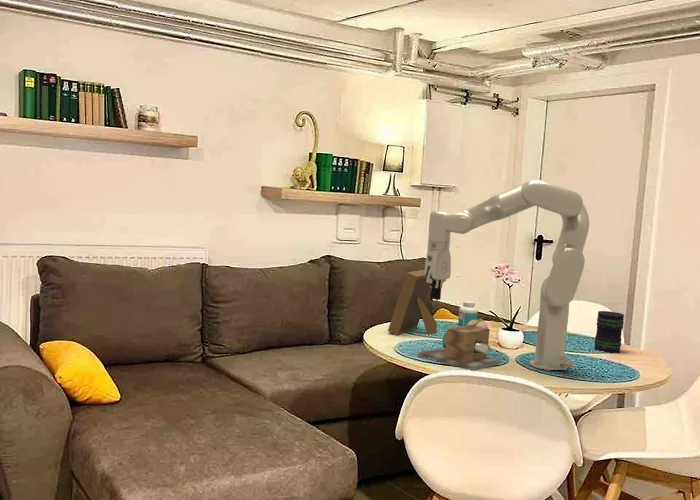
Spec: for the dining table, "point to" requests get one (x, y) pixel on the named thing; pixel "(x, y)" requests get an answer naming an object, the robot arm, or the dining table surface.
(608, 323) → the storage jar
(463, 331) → the bearing block
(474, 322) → the decorative fruit
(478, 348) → the shaft
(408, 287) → the photo frame
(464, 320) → the pill bottle
